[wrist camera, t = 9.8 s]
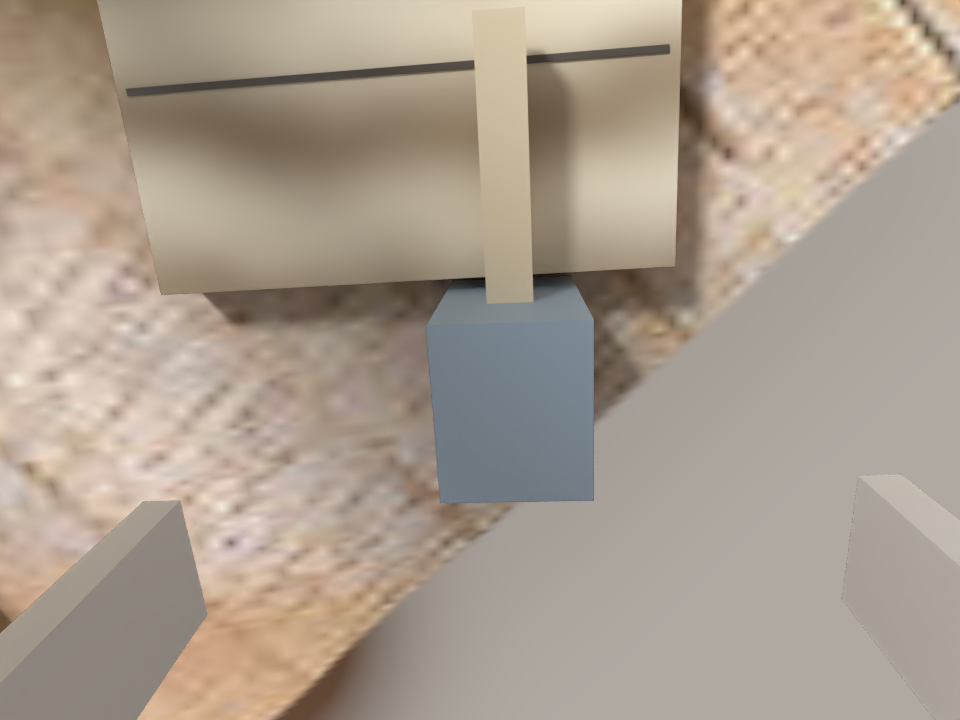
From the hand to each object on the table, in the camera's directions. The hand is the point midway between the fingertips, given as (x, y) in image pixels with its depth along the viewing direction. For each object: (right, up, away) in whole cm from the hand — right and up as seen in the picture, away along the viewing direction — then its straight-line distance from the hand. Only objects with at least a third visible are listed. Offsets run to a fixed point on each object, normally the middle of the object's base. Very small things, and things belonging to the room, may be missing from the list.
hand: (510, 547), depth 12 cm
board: (-4, +13, +12) cm, 18 cm away
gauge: (+1, +9, +13) cm, 16 cm away
